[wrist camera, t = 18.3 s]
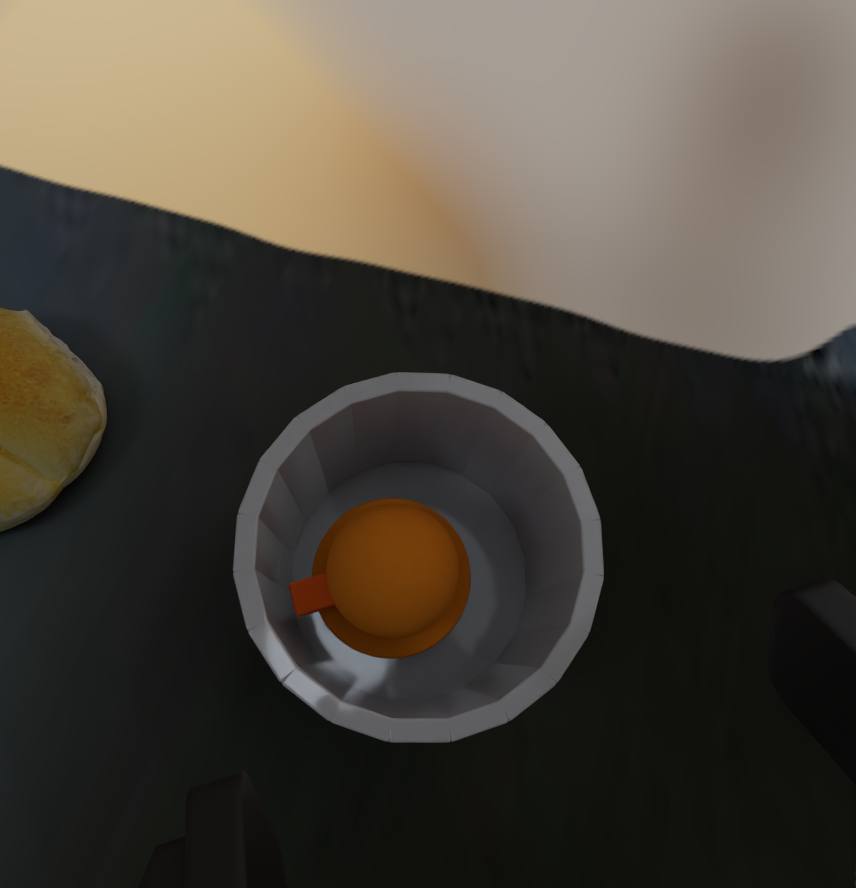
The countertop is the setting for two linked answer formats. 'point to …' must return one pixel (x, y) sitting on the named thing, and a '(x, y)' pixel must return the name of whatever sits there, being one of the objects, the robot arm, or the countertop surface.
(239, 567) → the pot
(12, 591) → the countertop surface
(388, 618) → the duck
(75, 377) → the bread roll
